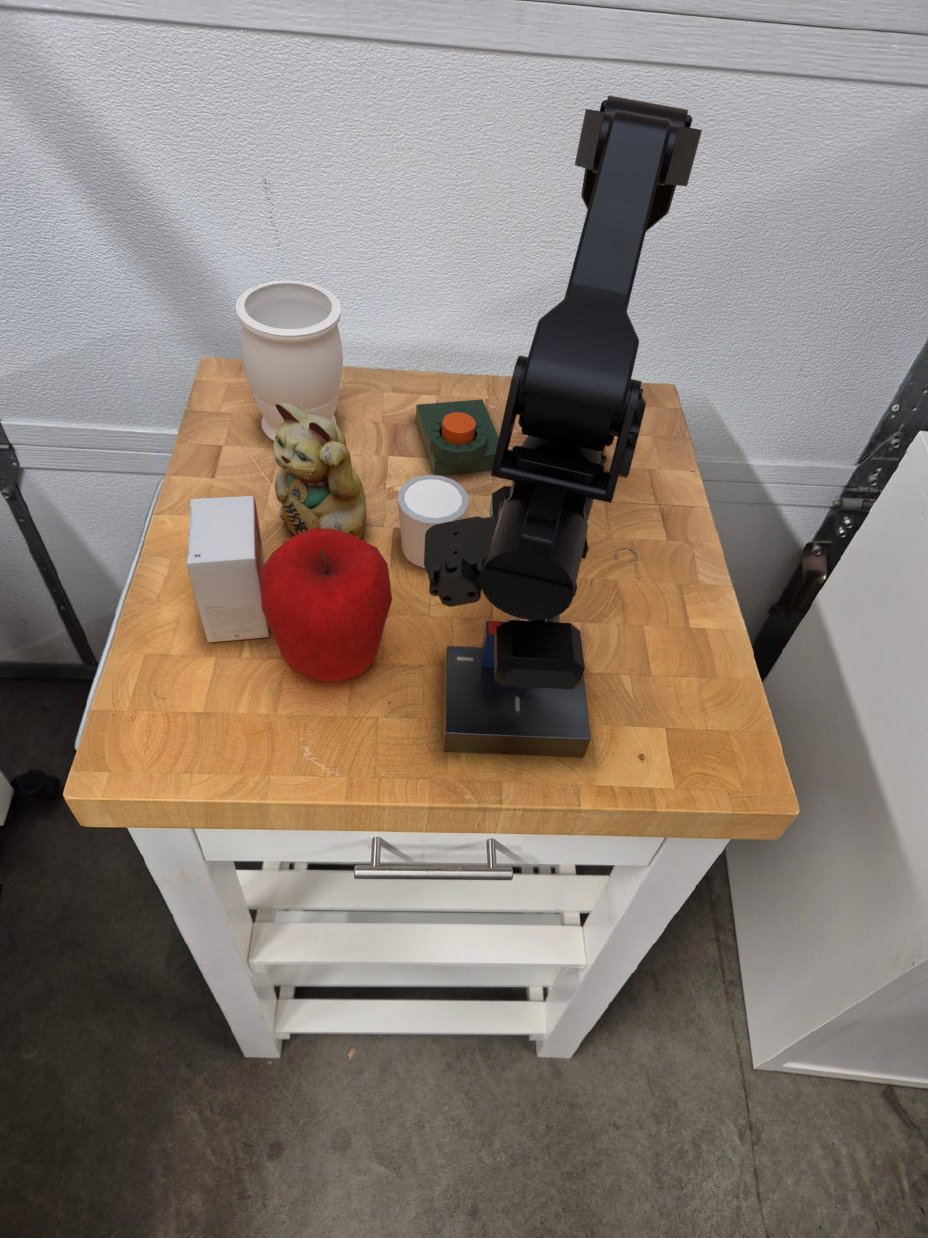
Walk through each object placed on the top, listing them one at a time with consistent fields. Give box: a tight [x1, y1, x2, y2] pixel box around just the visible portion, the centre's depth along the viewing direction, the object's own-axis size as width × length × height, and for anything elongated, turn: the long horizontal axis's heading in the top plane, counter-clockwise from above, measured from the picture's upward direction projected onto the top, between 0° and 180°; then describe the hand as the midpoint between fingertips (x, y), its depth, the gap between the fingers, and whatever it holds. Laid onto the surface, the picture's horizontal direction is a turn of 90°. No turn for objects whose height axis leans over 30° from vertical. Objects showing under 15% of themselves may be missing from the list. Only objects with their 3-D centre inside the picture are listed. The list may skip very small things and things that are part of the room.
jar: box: [235, 280, 344, 442], centre depth 88 cm, size 11×10×15 cm
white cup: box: [397, 474, 469, 569], centre depth 80 cm, size 7×7×7 cm
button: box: [442, 412, 476, 445], centre depth 89 cm, size 4×4×2 cm
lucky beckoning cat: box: [272, 402, 367, 539], centre depth 78 cm, size 10×8×15 cm
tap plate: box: [442, 615, 592, 758], centre depth 72 cm, size 12×13×3 cm
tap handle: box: [481, 620, 506, 668], centre depth 69 cm, size 6×2×5 cm, turn 90°
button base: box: [415, 398, 499, 476], centre depth 92 cm, size 11×8×4 cm
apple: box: [260, 528, 393, 682], centre depth 68 cm, size 10×10×14 cm
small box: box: [185, 495, 270, 643], centre depth 72 cm, size 8×6×10 cm
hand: (518, 645), depth 69 cm, fingers open, 9 cm apart
